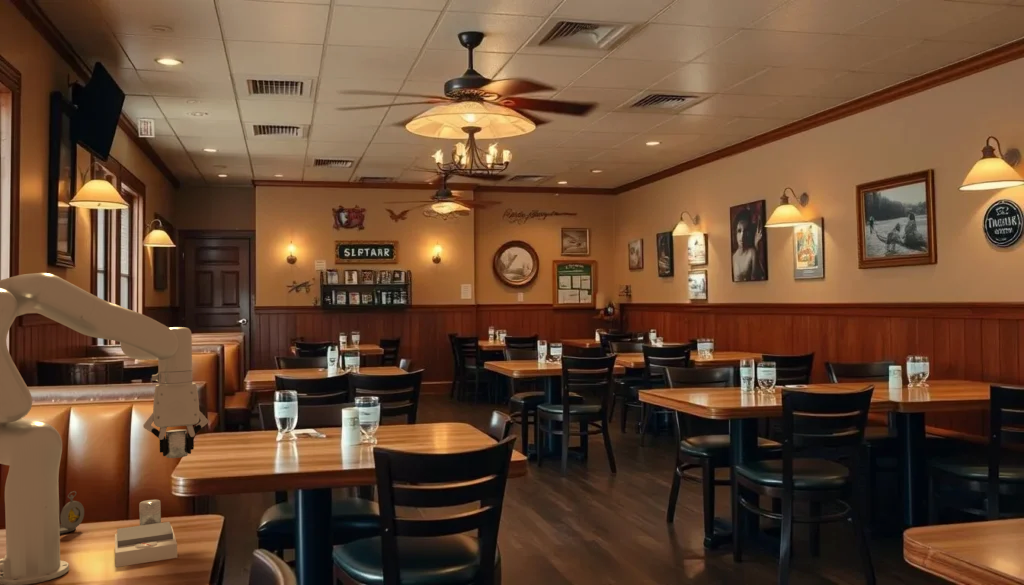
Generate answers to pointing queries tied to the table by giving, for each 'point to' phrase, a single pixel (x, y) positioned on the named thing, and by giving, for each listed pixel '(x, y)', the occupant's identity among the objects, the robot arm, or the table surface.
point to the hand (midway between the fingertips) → (176, 453)
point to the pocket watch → (71, 515)
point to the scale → (145, 544)
